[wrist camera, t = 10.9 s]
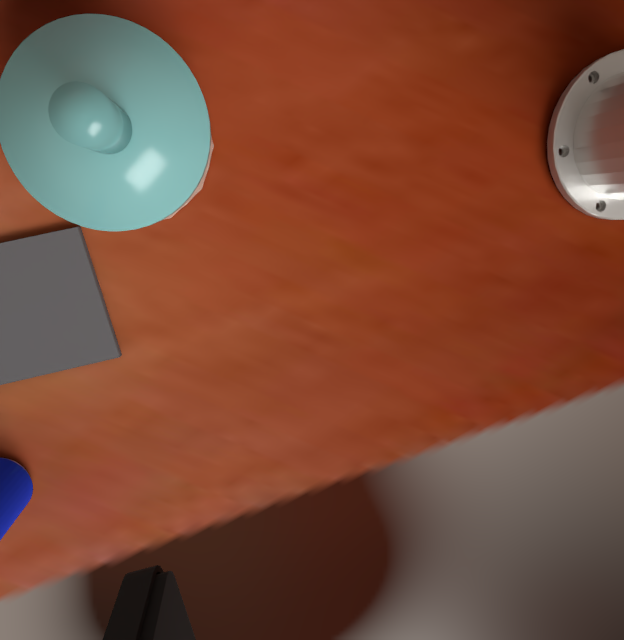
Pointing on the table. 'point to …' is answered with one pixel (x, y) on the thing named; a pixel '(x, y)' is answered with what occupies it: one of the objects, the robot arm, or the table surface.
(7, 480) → the beverage can
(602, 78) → the robot arm
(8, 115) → the lid
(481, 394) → the table surface
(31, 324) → the mat
